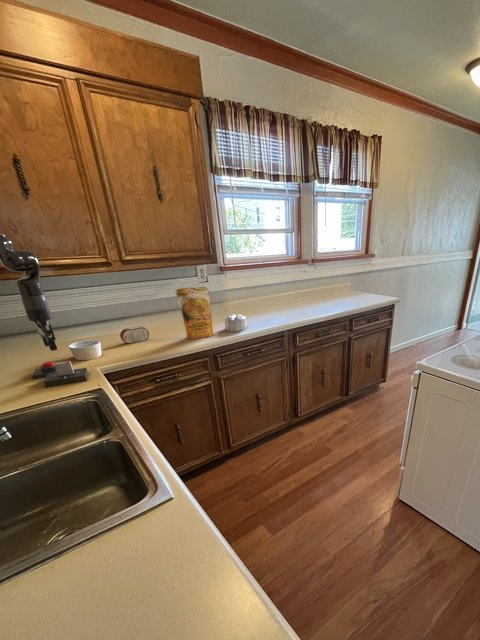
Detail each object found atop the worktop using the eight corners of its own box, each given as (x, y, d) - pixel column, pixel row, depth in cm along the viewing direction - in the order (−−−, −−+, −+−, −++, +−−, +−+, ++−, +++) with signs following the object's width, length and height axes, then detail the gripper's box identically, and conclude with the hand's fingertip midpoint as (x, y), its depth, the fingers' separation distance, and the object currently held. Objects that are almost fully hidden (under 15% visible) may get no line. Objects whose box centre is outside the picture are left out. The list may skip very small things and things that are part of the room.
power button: (43, 368, 138) (42, 364, 137) (45, 365, 141) (43, 362, 140) (53, 367, 140) (52, 363, 139) (55, 364, 143) (53, 360, 142)
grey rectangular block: (58, 376, 132) (53, 364, 130) (58, 374, 134) (54, 362, 131) (73, 373, 134) (69, 361, 132) (74, 372, 136) (70, 360, 134)
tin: (149, 338, 190) (146, 324, 186) (151, 340, 188) (148, 325, 184) (122, 344, 181) (118, 329, 177) (124, 345, 179) (120, 330, 175)
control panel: (46, 388, 129) (43, 381, 127) (50, 379, 136) (47, 372, 135) (87, 382, 134) (85, 374, 133) (88, 373, 142) (86, 367, 141)
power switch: (33, 380, 136) (30, 371, 134) (37, 373, 143) (34, 364, 141) (67, 375, 141) (64, 366, 139) (69, 368, 148) (66, 360, 146)
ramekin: (69, 357, 161) (64, 344, 158) (97, 351, 170) (93, 338, 167) (78, 364, 153) (74, 349, 150) (108, 356, 162) (104, 343, 159)
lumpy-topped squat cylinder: (224, 328, 211) (222, 315, 207) (243, 326, 217) (242, 312, 213) (229, 332, 203) (228, 318, 199) (249, 329, 209) (248, 315, 205)
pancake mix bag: (182, 337, 192) (173, 288, 179) (213, 333, 201) (207, 285, 188) (185, 340, 187) (176, 289, 174) (217, 335, 196) (211, 287, 183)
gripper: (53, 308, 123) (67, 349, 130) (43, 303, 131) (57, 342, 139) (29, 311, 118) (44, 354, 125) (20, 306, 126) (35, 346, 134)
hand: (51, 348), depth 132 cm, fingers open, 8 cm apart
